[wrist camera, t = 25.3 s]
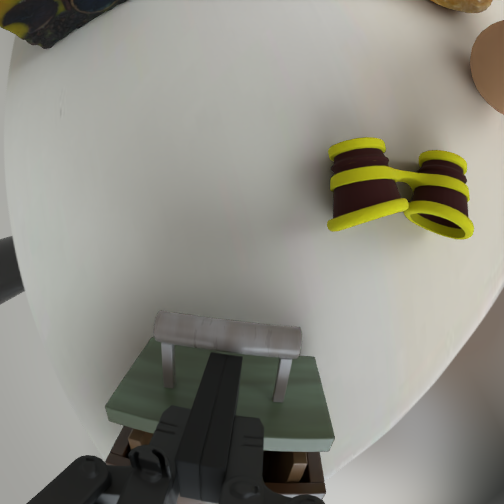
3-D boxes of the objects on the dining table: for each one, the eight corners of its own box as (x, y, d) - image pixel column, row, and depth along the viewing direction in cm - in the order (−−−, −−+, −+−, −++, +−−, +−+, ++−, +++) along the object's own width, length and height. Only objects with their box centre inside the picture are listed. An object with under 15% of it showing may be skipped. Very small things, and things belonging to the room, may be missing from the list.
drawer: (150, 275, 19) (88, 329, 11) (327, 295, 19) (363, 364, 11) (164, 456, 23) (144, 516, 15) (281, 471, 23) (283, 535, 15)
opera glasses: (442, 168, 18) (482, 152, 13) (445, 239, 18) (488, 239, 13) (319, 152, 18) (337, 123, 13) (319, 232, 18) (339, 229, 13)
